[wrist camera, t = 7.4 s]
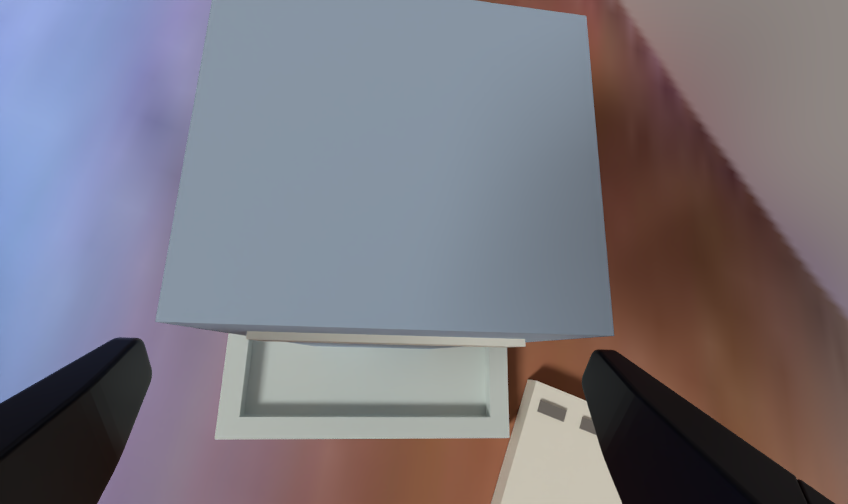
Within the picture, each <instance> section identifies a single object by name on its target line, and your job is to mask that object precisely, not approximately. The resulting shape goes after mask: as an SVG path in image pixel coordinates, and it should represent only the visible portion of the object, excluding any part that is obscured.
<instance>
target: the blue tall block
mask: <svg viewBox="0 0 848 504" xmlns="http://www.w3.org/2000/svg"><path fill="white" fill-rule="evenodd" d="M155 322H160V323H167V324H173V325H180V326H186V327H193V328H199V329H206V330H212V331H219V332H225V333H232V334H238V335H244V336H246V339H248V340H256V341H269V342H290V343H296V344H303V345H309V346H324V347H365V348H405V349H439V348H452V347H502V348H505V347H525V342H536V341H549V340H563V339H577V338H591V337H605V336H614V329H613V318H612V306H611V295H610V283H609V272H608V261H607V249H606V238H605V226H604V215H603V203H602V192H601V180H600V169H599V157H598V146H597V134H596V123H595V111H594V100H593V88H592V77H591V65H590V54H589V42H588V31H587V19H586V16H583V15H576V14H568V13H561V12H554V11H547V10H539V9H532V8H525V7H518V6H510V5H503V4H496V3H489V2H481V1H474V0H212V4H211V9H210V15H209V21H208V26H207V32H206V38H205V43H204V49H203V55H202V60H201V66H200V72H199V77H198V83H197V89H196V94H195V100H194V106H193V111H192V117H191V123H190V128H189V134H188V140H187V145H186V151H185V157H184V162H183V168H182V174H181V179H180V185H179V191H178V196H177V202H176V207H175V213H174V219H173V224H172V230H171V236H170V241H169V247H168V253H167V258H166V264H165V270H164V275H163V281H162V287H161V292H160V298H159V304H158V309H157V315H156V321H155Z"/></svg>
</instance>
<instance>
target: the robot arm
mask: <svg viewBox="0 0 848 504" xmlns="http://www.w3.org/2000/svg"><path fill="white" fill-rule="evenodd" d="M151 378H152V369H151V365H150V362H149V358H148V355H147V351H146V348H145V345H144V342H143V341H142V340H141V339H139V338H122V337H120V338H115V339H112V340H110V341H109V342H107V343H105V344H103V345H102V346H100V347H98V348H96V349H95V350H93V351H91V352H89V353H88V354H86V355H84V356H82V357H81V358H79V359H77V360H75V361H74V362H72V363H70V364H68V365H67V366H65V367H63V368H61V369H60V370H58V371H56V372H54V373H53V374H51V375H49V376H47V377H46V378H44V379H42V380H40V381H39V382H37V383H35V384H33V385H32V386H30V387H28V388H26V389H25V390H23V391H21V392H19V393H18V394H16V395H14V396H12V397H11V398H9V399H7V400H5V401H4V402H2V403H0V504H97V503H98V501H99V499H100V497H101V495H102V493H103V491H104V489H105V488H106V486H107V484H108V482H109V480H110V478H111V476H112V474H113V472H114V470H115V468H116V466H117V464H118V462H119V460H120V457H121V455H122V453H123V450H124V448H125V445H126V443H127V440H128V438H129V435H130V433H131V430H132V428H133V425H134V423H135V420H136V418H137V415H138V412H139V410H140V407H141V405H142V402H143V400H144V397H145V395H146V392H147V390H148V387H149V385H150V382H151ZM582 387H583V391H584V395H585V398H586V401H587V405H588V408H589V411H590V415H591V418H592V422H593V425H594V428H595V432H596V435H597V438H598V442H599V445H600V448H601V451H602V454H603V457H604V460H605V462H606V465H607V468H608V470H609V472H610V475H611V477H612V480H613V482H614V485H615V487H616V490H617V492H618V495H619V497H620V499H621V502H622V504H835V503H833V502H832V501H830V500H829V499H827V498H826V497H825V496H823V495H822V494H820V493H819V492H817V491H816V490H815V489H813V488H812V487H810V486H809V485H807V484H806V483H805V482H803V481H802V480H799V479H798V480H797V479H796V477H795V476H794V475H793V474H792V473H790V472H789V471H787V470H786V469H784V468H783V467H781V466H780V465H779V464H777V463H776V462H774V461H773V460H771V459H770V458H769V457H767V456H766V455H764V454H763V453H761V452H760V451H759V450H757V449H756V448H754V447H753V446H751V445H750V444H748V443H747V442H746V441H744V440H743V439H741V438H740V437H738V436H737V435H736V434H734V433H733V432H731V431H730V430H728V429H727V428H726V427H724V426H723V425H721V424H720V423H718V422H717V421H716V420H714V419H713V418H711V417H710V416H708V415H707V414H705V413H704V412H703V411H701V410H700V409H698V408H697V407H695V406H694V405H693V404H691V403H690V402H688V401H687V400H685V399H684V398H683V397H681V396H680V395H678V394H677V393H675V392H674V391H672V390H671V389H670V388H668V387H667V386H665V385H664V384H662V383H661V382H660V381H658V380H657V379H655V378H654V377H652V376H651V375H650V374H648V373H647V372H645V371H644V370H642V369H641V368H639V367H638V366H637V365H635V364H634V363H632V362H631V361H629V360H628V359H627V358H625V357H624V356H622V355H621V354H619V353H618V352H616V351H614V350H595V351H594V352H593V353H592V355H591V357H590V360H589V362H588V364H587V367H586V369H585V372H584V374H583V377H582Z"/></svg>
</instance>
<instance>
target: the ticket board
mask: <svg viewBox="0 0 848 504" xmlns="http://www.w3.org/2000/svg"><path fill="white" fill-rule="evenodd" d="M491 504H622V502H621V499H620V497H619V495H618V492H617V490H616V487H615V485H614V482H613V480H612V477H611V475H610V472H609V470H608V468H607V465H606V462H605V460H604V457H603V454H602V451H601V448H600V445H599V442H598V438H597V435H596V432H595V428H594V425H593V422H592V418H591V415H590V411H589V408H588V405H587V401H585V400H583V399H580V398H578V397H576V396H573V395H571V394H568V393H566V392H563V391H561V390H558V389H556V388H553V387H551V386H548V385H546V384H543V383H541V382H539V381H535V380H529V379H528V380H527V384H526V387H525V390H524V394H523V397H522V401H521V404H520V407H519V411H518V414H517V417H516V421H515V424H514V428H513V431H512V434H511V438H510V441H509V444H508V448H507V451H506V454H505V458H504V461H503V465H502V468H501V471H500V475H499V478H498V481H497V485H496V488H495V492H494V495H493V498H492V502H491Z"/></svg>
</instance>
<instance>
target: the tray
mask: <svg viewBox="0 0 848 504" xmlns="http://www.w3.org/2000/svg"><path fill="white" fill-rule="evenodd" d="M399 438H509V403H508V366H507V347H505V348H502V347H452V348H439V349H405V348H365V347H324V346H309V345H303V344H296V343H290V342H269V341H256V340H248V339H246V336H244V335H238V334H232V333H229V334H228V342H227V349H226V357H225V364H224V372H223V379H222V387H221V394H220V402H219V410H218V417H217V425H216V432H215V439H399Z"/></svg>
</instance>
